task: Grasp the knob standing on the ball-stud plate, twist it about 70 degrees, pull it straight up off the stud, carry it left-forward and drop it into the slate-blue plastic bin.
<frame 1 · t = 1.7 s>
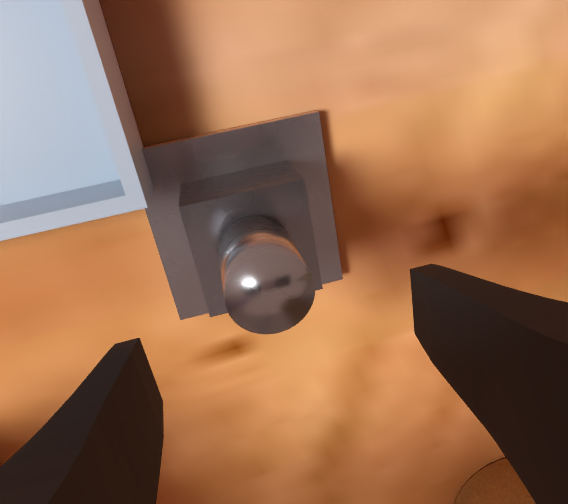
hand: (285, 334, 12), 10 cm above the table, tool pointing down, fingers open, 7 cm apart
knob: (245, 222, 20), point 1 cm above the table, touching stud plate
stud plate: (244, 217, 21), on the table
plant pot: (497, 492, 32), on the table
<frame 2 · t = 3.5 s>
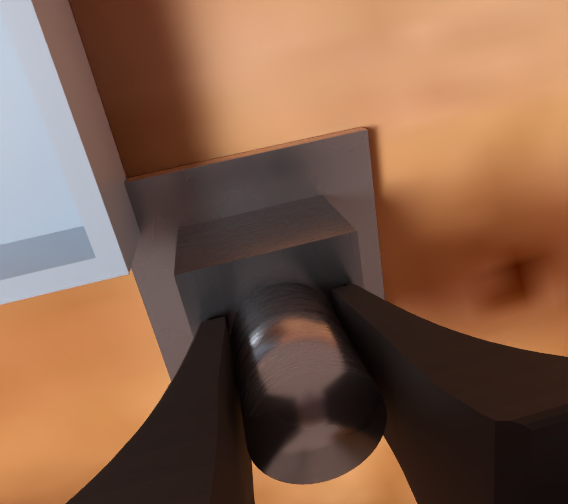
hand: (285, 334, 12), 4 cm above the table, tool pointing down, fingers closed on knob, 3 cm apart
knob: (265, 276, 15), point 1 cm above the table, touching gripper, stud plate
stud plate: (262, 268, 16), on the table
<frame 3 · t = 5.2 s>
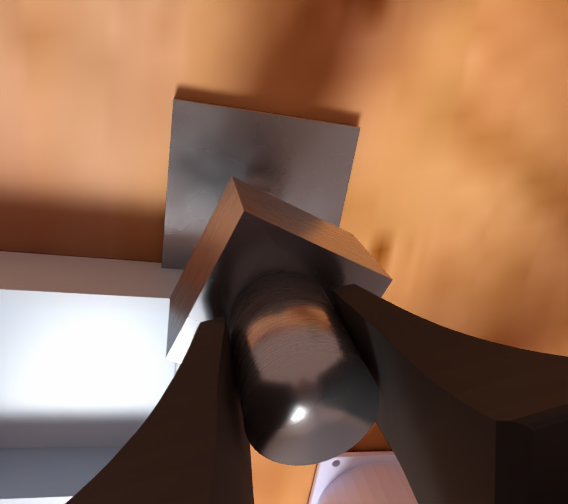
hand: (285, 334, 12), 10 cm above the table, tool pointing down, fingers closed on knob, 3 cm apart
knob: (262, 265, 16), point 6 cm above the table, touching gripper
bin: (70, 360, 23), on the table
stud plate: (256, 201, 21), on the table
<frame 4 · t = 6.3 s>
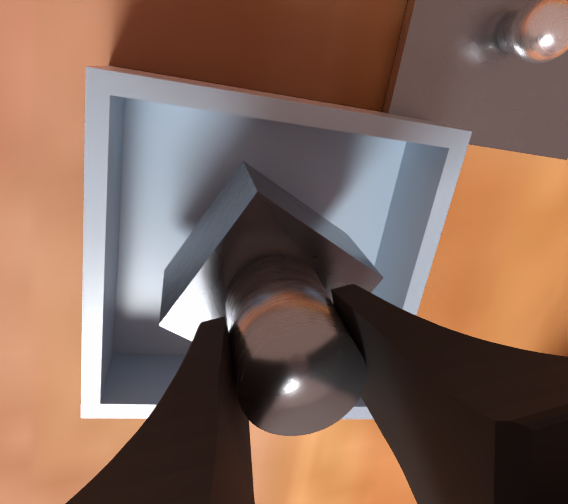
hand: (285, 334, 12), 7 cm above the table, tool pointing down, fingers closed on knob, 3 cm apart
knob: (257, 251, 16), point 2 cm above the table, touching gripper
bin: (254, 242, 18), on the table
stud plate: (505, 33, 17), on the table
when the fingers open (6 cm above the table, at t = 7.2 s): knob stays where it is, resting on bin.
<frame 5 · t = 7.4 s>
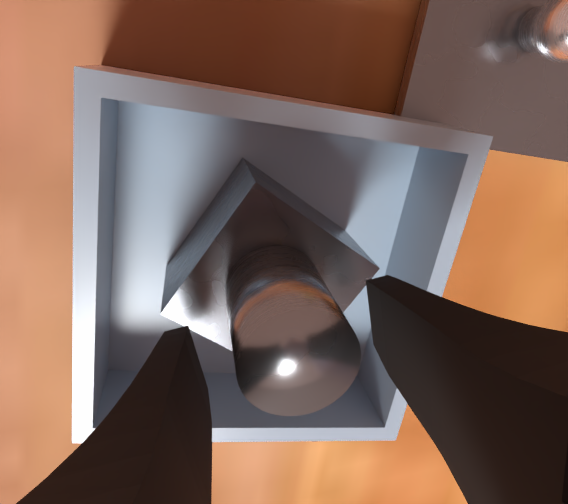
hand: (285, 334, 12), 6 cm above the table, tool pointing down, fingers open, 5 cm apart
knob: (257, 247, 16), resting on bin
bin: (257, 253, 17), on the table
stud plate: (525, 30, 16), on the table
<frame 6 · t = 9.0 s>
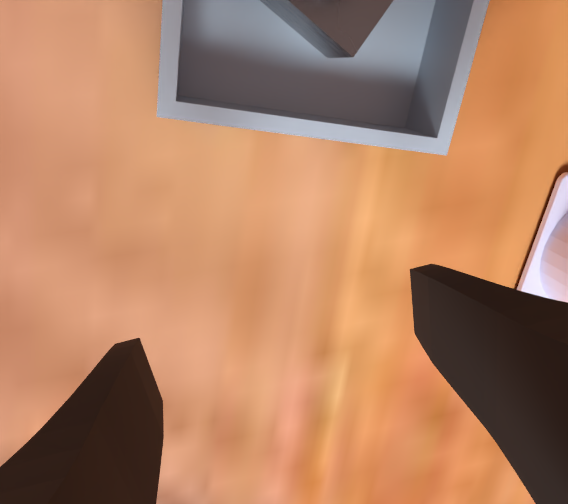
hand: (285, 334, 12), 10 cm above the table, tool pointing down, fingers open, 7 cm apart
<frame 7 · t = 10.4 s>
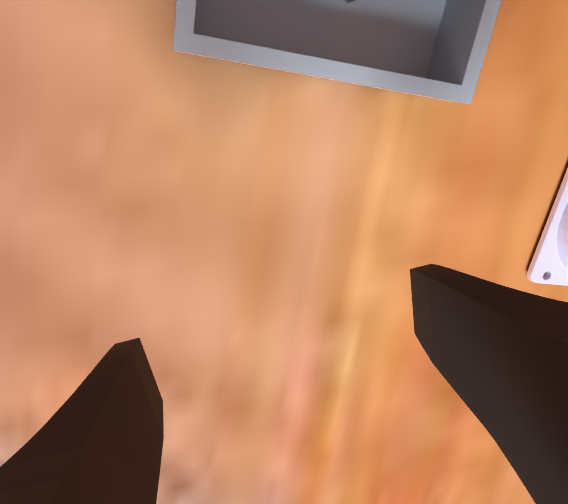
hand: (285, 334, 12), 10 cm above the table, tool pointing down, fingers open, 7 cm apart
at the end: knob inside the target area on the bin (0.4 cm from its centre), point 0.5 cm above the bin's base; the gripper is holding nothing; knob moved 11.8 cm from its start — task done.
